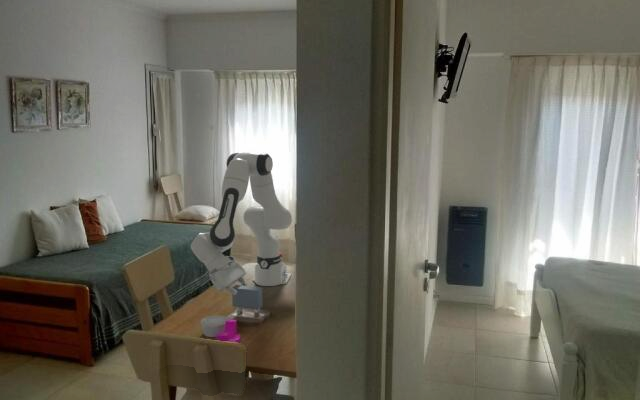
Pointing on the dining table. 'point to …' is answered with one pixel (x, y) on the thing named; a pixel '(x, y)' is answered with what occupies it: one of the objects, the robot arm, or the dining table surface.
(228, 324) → the toy block
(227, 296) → the dining table surface
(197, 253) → the robot arm
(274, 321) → the dining table surface
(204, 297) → the dining table surface
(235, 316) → the peg stand
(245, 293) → the slate block
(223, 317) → the ramekin
